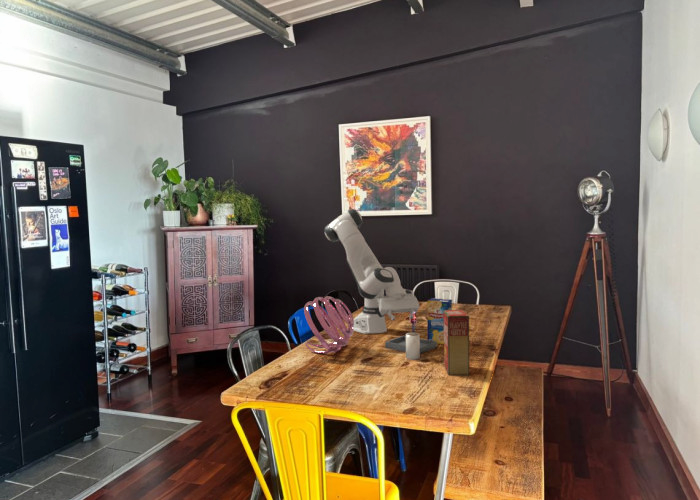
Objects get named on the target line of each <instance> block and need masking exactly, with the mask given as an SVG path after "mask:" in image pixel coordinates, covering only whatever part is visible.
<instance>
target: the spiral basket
mask: <svg viewBox="0 0 700 500" xmlns="http://www.w3.org/2000/svg"><path fill="white" fill-rule="evenodd" d="M330 300H331V301H332V302H333V303H334V305H335V307H336V308H335V307H334V306H333V305H332V303H331V302H330ZM319 302H322V303H323V304H324V307H325V309H324V308H323V307H321V306H320V305H319ZM309 306H311V307H313V310H314V313H315V317H316V318H317V320H318V322H319V323H320V326H321V327H322V328H323V331H325V333H326V334H327V335H328V336H329V338H330V339H332V341H333V342H330V343H329V342H327V340H325V338H324V337H323V336H322V335H321V333H320V332H319V330H318V329H317V327H316V325H315V323H314V322H313V320H312V317H311V314H310V311H309ZM303 311H304V312H303V313H304V316H305V319H306V322H307V325H308V326H309V328H310V330H311V331H312V333H313V335H314V336H315V338H316V339H317V340H318V341H319V343H320V344H316V343H312V342H309V341H307V342H306V343H305V347H306V348H307V349H308V350H309V351H311V352H313V353H316V354H320V355H321V354H330V353H337V352H339V351H341V350H342V348H343V347H345V346H346V345H348V343H349V342H350V337H352V336H353V335H354V331H353V326H354V316H353V314H352V312H351V311H350V309H349V308H348V306H347V305H346V304H345V303H344V302H343V300H341V299H338V298H334V297H332V296H328V295H327V296H324V297H323V296H318V297H315V298H314V299H313V301H308V302H306V303H305V305H304V307H303ZM347 312H348V313H347ZM346 324H347V325H348V326H347V325H346ZM338 330H339V331H338ZM339 332H340V333H342V334H343V336H342V337H341V335H340V333H339ZM310 346H312V347H317V348H325V349H326V350H325V351H324V350H323V351H320V350H319V351H318V350H316V349H312V347H310Z"/></svg>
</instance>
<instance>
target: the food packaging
mask: <svg viewBox="0 0 700 500" xmlns="http://www.w3.org/2000/svg"><path fill="white" fill-rule="evenodd" d="M443 313H444V344H443V356H444V357H443V367H444V369H445V370H444V371H446V374H447V376H470V316H469V315H468V314H467V313H466V312H465V310H463V309H452V310H444V311H443Z"/></svg>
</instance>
